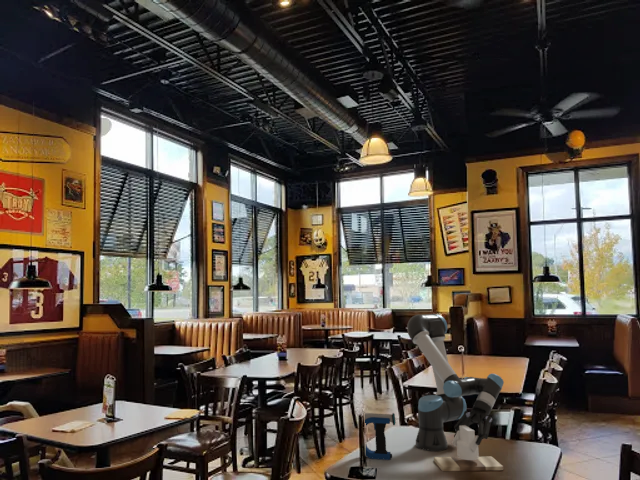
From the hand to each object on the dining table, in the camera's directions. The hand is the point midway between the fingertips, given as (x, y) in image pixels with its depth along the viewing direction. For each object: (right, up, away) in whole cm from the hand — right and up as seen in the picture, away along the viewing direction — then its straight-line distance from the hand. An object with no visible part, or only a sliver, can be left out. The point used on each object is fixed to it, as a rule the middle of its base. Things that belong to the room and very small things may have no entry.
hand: (462, 447), depth 214 cm
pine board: (+2, -8, +1) cm, 9 cm away
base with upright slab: (+3, -5, +1) cm, 6 cm away
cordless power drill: (-35, -9, +11) cm, 38 cm away
